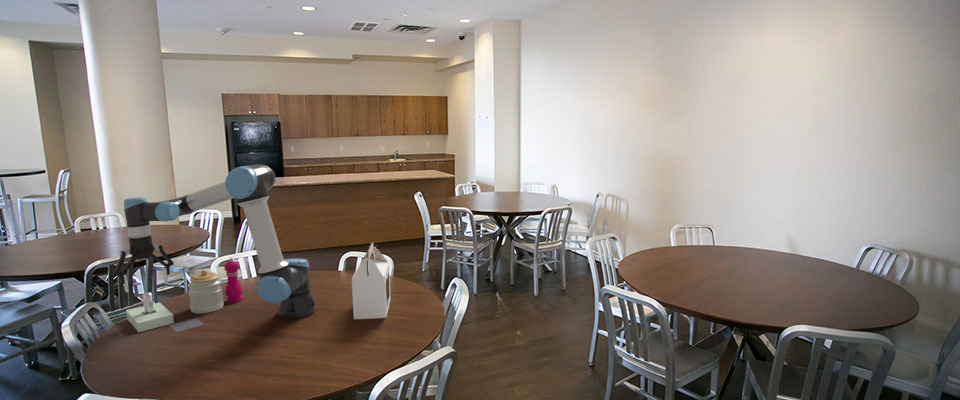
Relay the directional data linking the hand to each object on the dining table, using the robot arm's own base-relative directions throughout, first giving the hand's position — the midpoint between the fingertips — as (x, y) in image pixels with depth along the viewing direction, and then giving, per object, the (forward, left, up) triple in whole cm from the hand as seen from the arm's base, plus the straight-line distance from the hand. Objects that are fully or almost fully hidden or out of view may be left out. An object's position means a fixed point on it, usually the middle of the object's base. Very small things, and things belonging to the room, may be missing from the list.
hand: (147, 287), depth 198 cm
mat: (-16, -9, -15) cm, 23 cm away
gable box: (-56, -70, -15) cm, 90 cm away
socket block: (0, 0, -15) cm, 15 cm away
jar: (-2, -21, -15) cm, 26 cm away
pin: (0, 0, -15) cm, 15 cm away
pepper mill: (0, -33, -15) cm, 36 cm away
